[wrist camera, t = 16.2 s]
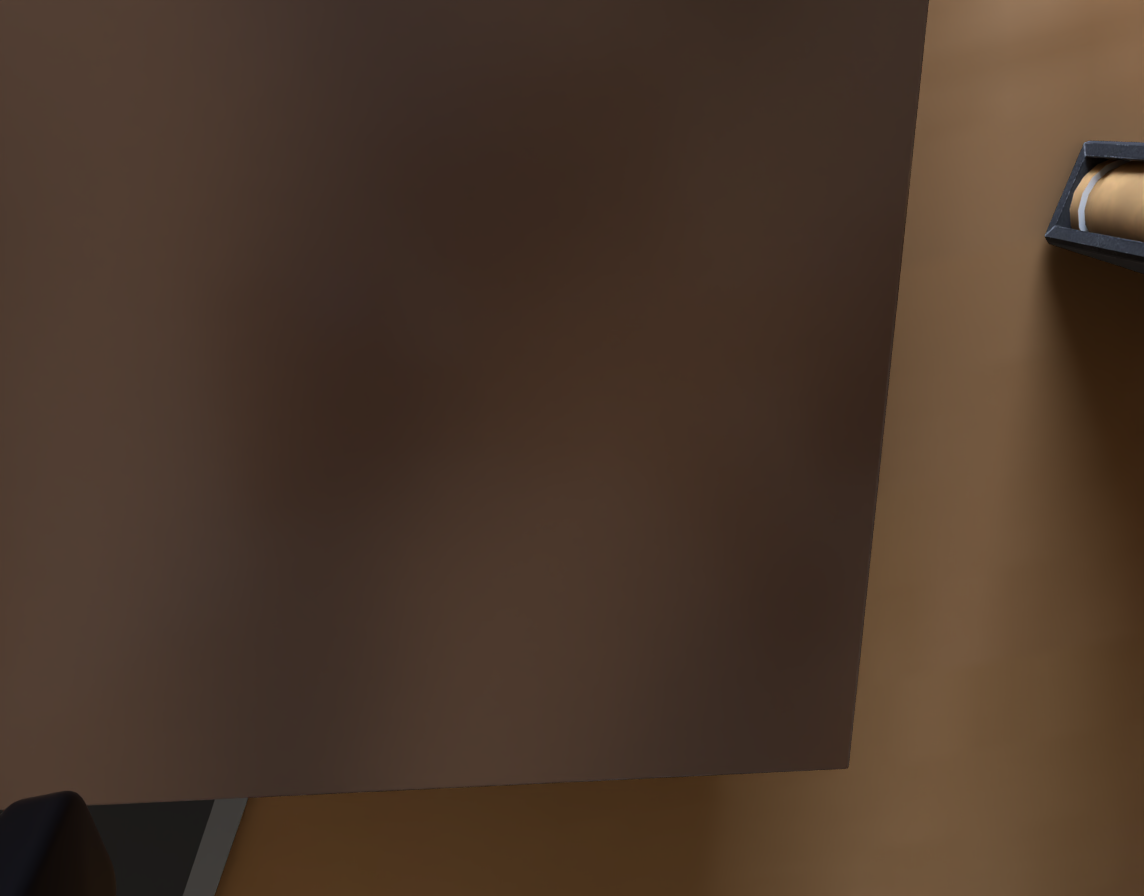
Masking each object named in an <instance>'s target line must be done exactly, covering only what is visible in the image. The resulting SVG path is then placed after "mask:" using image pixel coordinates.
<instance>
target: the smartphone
mask: <svg viewBox="0 0 1144 896" xmlns="http://www.w3.org/2000/svg"><path fill="white" fill-rule="evenodd" d="M247 800H248V798H234V799H213V800H193V801H172V802H152V803H131V804H110V805H90V806H87V807H88V809H89V812H90V814H91V816H92V819H93V821H94V823H95V825H96V828H97V830H98V832H99V834H100V837H101V839H102V841H103V843H104V846H105V848H106V850H107V853H108V855H109V857H110V859H111V862H112V865H113V868H114V873H115V879H116V896H214V895H215V893H216V890H217V887H218V884H219V881H220V878H221V875H222V872H223V869H224V867H225V864H226V861H227V858H228V855H229V852H230V849H231V846H232V843H233V841H234V838H235V835H236V832H237V829H238V826H239V823H240V820H241V817H242V814H243V812H244V809H245V806H246V803H247ZM3 811H4V810H0V814H1V813H2V812H3Z"/></svg>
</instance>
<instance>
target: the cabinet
mask: <svg viewBox="0 0 1144 896" xmlns="http://www.w3.org/2000/svg"><path fill="white" fill-rule="evenodd" d="M928 3H929V0H0V810H5V809H6V808H7V807H8V806H10V805H11V804H13V803H14V802H16V801H18V800H21V799H25V798H30V797H35V796H40V795H45V794H50V793H55V792H61V791H74V792H76V793H78V794H79V795H80V796H81V797H82V798H83V800H84V801H85V803H86V805H87V806H90V805H110V804H131V803H152V802H172V801H193V800H213V799H234V798H255V797H275V796H296V795H317V794H337V793H358V792H379V791H399V790H420V789H440V788H461V787H482V786H502V785H523V784H544V783H564V782H585V781H605V780H626V779H647V778H667V777H688V776H709V775H729V774H750V773H770V772H791V771H812V770H832V769H846V768H848V767H849V759H850V749H851V740H852V730H853V721H854V711H855V702H856V692H857V682H858V673H859V663H860V654H861V644H862V635H863V625H864V615H865V606H866V596H867V587H868V577H869V568H870V558H871V549H872V539H873V529H874V520H875V510H876V501H877V491H878V482H879V472H880V462H881V453H882V443H883V434H884V424H885V415H886V405H887V395H888V386H889V376H890V367H891V357H892V348H893V338H894V329H895V319H896V309H897V300H898V290H899V281H900V271H901V262H902V252H903V242H904V233H905V223H906V214H907V204H908V195H909V185H910V176H911V166H912V156H913V147H914V137H915V128H916V118H917V109H918V99H919V89H920V80H921V70H922V61H923V51H924V42H925V32H926V22H927V13H928Z"/></svg>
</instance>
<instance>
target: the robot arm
mask: <svg viewBox="0 0 1144 896" xmlns="http://www.w3.org/2000/svg"><path fill="white" fill-rule="evenodd" d="M0 896H116V879H115V873H114V868H113V865H112V862H111V859H110V857H109V855H108V853H107V850H106V848H105V846H104V843H103V841H102V839H101V837H100V834H99V832H98V830H97V828H96V825H95V823H94V821H93V819H92V816H91V814H90V812H89V809H88V807H87V805H86V803H85V801H84V800H83V798H82V797H81V796H80V795H79V794H78V793H76V792H74V791H61V792H55V793H50V794H45V795H40V796H35V797H30V798H25V799H21V800H18V801H16V802H14V803H13V804H11V805H10V806H8V807H7V808H6V809H5V810H4V811H3V812H2V813H1V814H0Z"/></svg>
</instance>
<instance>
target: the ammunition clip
mask: <svg viewBox="0 0 1144 896" xmlns="http://www.w3.org/2000/svg"><path fill="white" fill-rule="evenodd" d="M1045 238H1046V240H1047V242H1048V243H1049V244H1052V245H1055V246H1058V247H1061V248H1064V249H1067V250H1070V251H1073V252H1077V253H1080V254H1083V255H1086V256H1089V257H1092V258H1095V259H1099V260H1102V261H1105V262H1108V263H1111V264H1114V265H1117V266H1121V267H1124V268H1127V269H1130V270H1133V271H1136V272H1139V273H1143V274H1144V143H1139V142H1112V141H1088V142H1085V143H1084V144H1083V147H1082V149H1081V152H1080V154H1079V156H1078V159H1077V161H1076V163H1075V166H1074V168H1073V170H1072V173H1071V175H1070V177H1069V180H1068V182H1067V184H1066V187H1065V189H1064V191H1063V194H1062V196H1061V199H1060V201H1059V203H1058V206H1057V208H1056V210H1055V213H1054V215H1053V217H1052V220H1051V222H1050V224H1049V227H1048V229H1047V231H1046V234H1045Z"/></svg>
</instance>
